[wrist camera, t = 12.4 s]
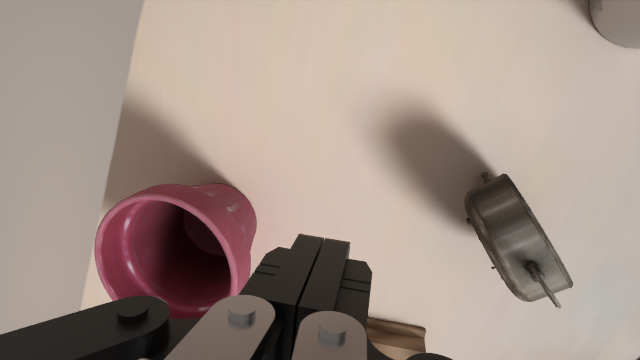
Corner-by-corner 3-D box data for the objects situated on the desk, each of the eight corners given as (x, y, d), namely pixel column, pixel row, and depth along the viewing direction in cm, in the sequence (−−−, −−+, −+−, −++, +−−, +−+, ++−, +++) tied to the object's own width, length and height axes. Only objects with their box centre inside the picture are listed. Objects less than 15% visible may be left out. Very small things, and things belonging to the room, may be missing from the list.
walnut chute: (425, 328, 47) (429, 361, 42) (412, 391, 50) (414, 429, 45) (224, 290, 51) (205, 316, 46) (222, 350, 53) (203, 381, 48)
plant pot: (143, 202, 49) (62, 246, 37) (225, 137, 45) (164, 163, 33) (215, 291, 51) (160, 361, 39) (301, 236, 47) (269, 295, 35)
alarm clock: (543, 243, 42) (629, 345, 27) (494, 265, 44) (550, 373, 29) (493, 157, 41) (554, 212, 26) (445, 182, 42) (474, 249, 27)
